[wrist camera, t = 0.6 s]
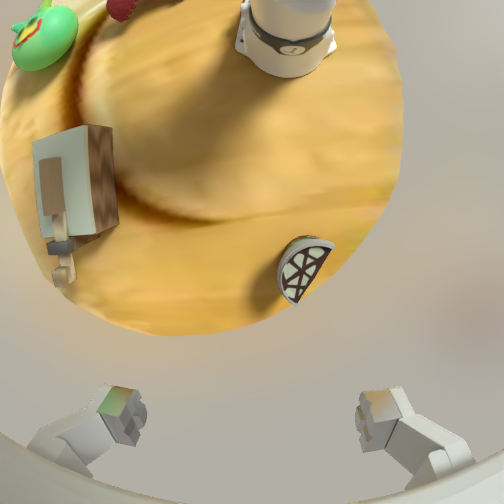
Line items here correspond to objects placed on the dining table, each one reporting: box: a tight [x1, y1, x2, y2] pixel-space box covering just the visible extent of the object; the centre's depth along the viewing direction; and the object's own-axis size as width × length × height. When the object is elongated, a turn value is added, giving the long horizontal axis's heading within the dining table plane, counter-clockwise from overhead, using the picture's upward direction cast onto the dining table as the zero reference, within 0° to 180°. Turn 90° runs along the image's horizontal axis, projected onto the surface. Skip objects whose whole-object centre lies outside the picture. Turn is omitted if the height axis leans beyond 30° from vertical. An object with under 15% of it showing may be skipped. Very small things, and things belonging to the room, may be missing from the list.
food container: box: [277, 235, 335, 307], centre depth 50 cm, size 12×6×10 cm, turn 152°
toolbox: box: [47, 124, 119, 255], centre depth 46 cm, size 22×14×13 cm, turn 2°
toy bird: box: [11, 0, 78, 71], centre depth 35 cm, size 18×17×15 cm
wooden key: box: [51, 211, 77, 288], centre depth 43 cm, size 13×2×4 cm, turn 2°
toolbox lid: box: [33, 125, 96, 238], centre depth 42 cm, size 19×14×6 cm
